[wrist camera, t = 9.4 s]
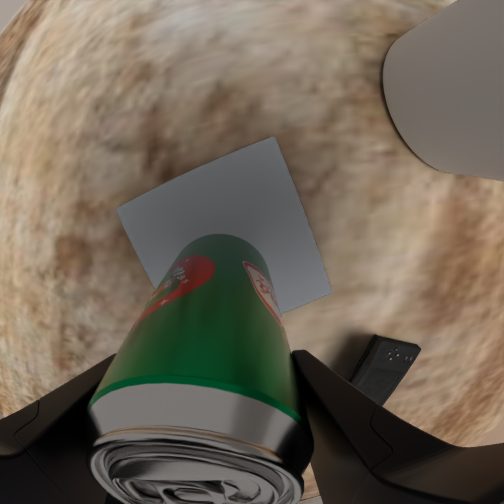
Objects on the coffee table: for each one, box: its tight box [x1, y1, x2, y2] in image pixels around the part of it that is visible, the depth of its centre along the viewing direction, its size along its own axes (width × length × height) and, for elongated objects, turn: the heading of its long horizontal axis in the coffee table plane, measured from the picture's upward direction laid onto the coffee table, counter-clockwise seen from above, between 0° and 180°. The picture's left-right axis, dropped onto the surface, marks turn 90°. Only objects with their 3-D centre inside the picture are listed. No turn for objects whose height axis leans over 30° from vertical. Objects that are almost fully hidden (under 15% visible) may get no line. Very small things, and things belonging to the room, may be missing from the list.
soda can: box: [85, 234, 314, 504], centre depth 10 cm, size 5×5×12 cm
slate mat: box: [115, 136, 333, 314], centre depth 20 cm, size 12×12×1 cm
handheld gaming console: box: [347, 335, 421, 406], centre depth 23 cm, size 12×7×10 cm
